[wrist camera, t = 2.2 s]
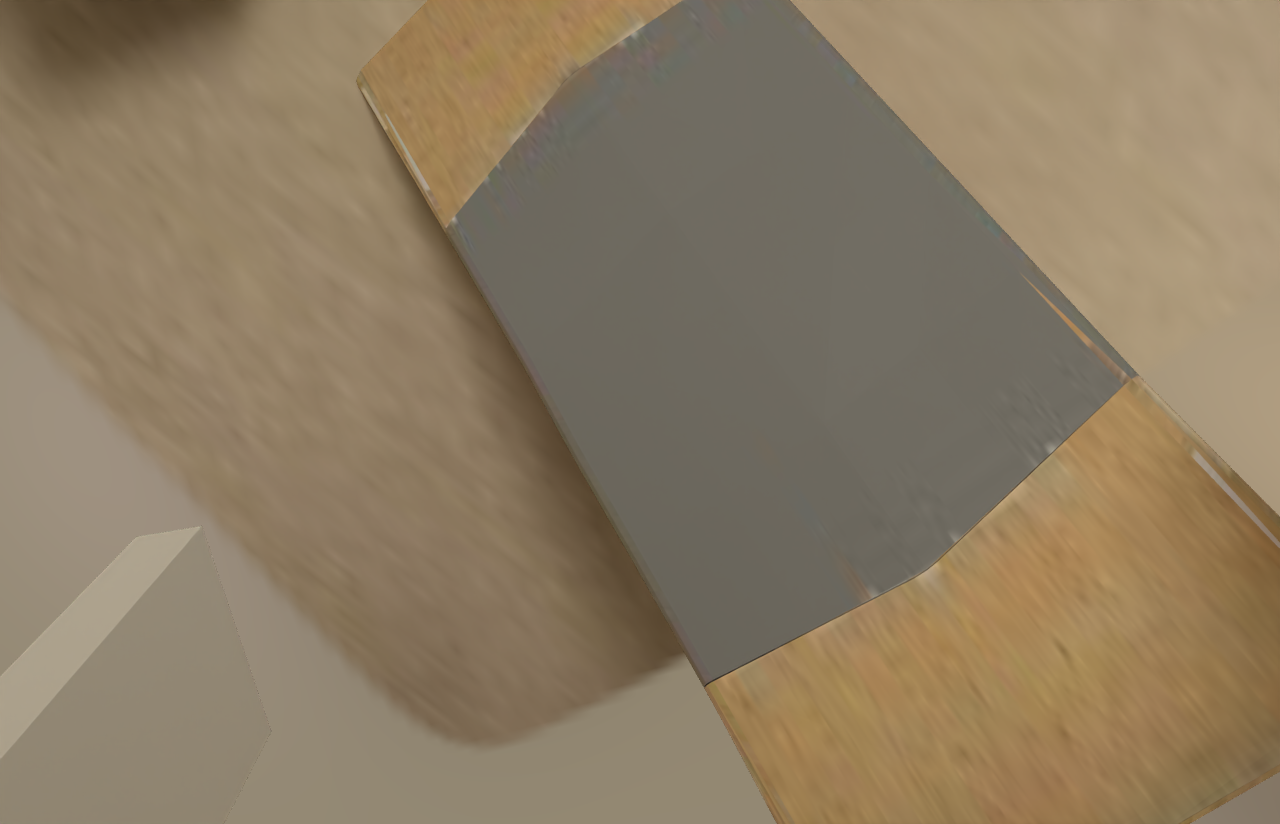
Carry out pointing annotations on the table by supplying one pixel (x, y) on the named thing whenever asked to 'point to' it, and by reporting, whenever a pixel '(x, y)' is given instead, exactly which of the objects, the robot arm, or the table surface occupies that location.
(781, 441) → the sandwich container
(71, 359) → the table surface
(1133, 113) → the table surface
